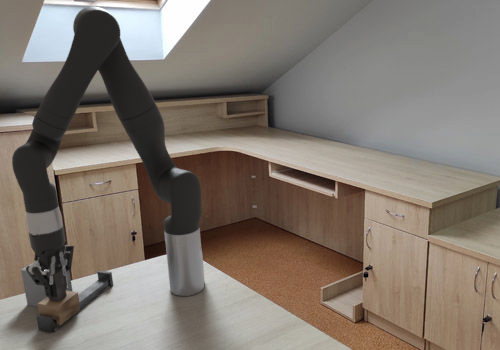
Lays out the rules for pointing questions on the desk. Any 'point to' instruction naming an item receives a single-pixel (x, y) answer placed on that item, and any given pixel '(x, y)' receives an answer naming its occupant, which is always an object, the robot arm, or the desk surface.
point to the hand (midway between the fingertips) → (57, 293)
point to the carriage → (60, 301)
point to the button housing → (38, 288)
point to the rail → (86, 296)
